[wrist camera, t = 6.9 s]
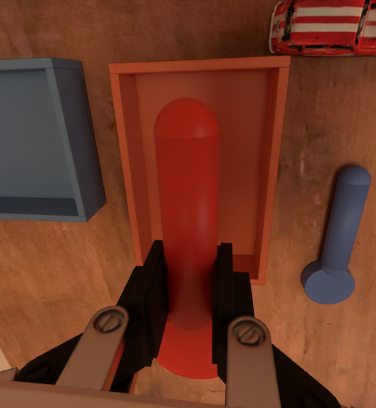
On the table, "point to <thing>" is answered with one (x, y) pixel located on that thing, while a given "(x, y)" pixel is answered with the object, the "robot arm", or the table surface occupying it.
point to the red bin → (228, 145)
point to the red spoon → (188, 232)
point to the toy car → (324, 27)
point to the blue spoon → (338, 240)
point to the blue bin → (47, 143)
